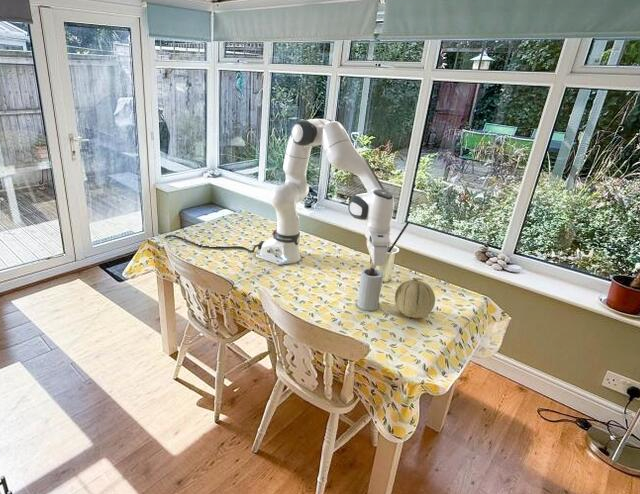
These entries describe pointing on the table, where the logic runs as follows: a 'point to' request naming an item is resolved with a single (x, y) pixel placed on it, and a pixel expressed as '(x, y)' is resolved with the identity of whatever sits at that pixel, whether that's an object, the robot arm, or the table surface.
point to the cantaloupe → (414, 298)
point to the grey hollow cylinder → (369, 289)
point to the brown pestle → (371, 270)
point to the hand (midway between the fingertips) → (372, 265)
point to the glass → (390, 259)
